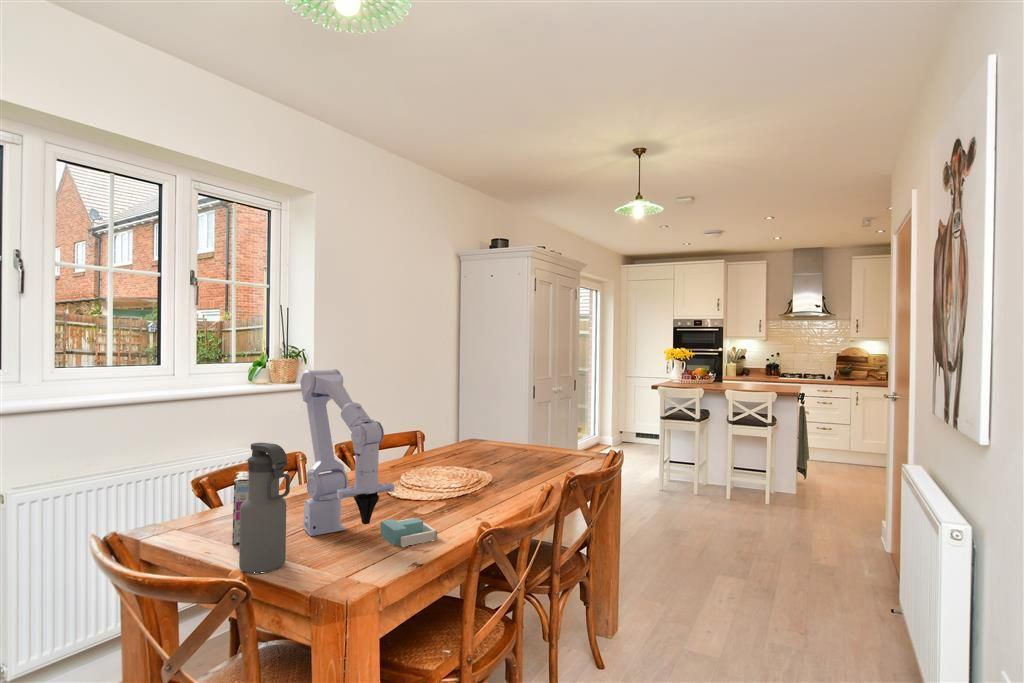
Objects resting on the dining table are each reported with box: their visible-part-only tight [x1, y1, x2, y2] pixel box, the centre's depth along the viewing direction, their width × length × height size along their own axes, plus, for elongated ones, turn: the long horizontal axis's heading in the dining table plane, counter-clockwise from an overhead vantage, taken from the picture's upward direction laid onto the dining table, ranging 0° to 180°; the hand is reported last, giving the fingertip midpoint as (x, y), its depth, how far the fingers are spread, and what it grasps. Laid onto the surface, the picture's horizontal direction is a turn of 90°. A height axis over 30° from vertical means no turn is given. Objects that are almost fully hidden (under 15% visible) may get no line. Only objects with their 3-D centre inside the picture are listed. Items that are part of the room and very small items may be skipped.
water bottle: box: [238, 442, 291, 574], centre depth 131 cm, size 10×10×28 cm
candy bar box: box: [231, 470, 249, 546], centre depth 149 cm, size 11×5×16 cm, turn 21°
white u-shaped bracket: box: [396, 517, 438, 548], centre depth 152 cm, size 10×13×2 cm
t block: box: [379, 517, 424, 547], centre depth 151 cm, size 10×9×4 cm
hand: (365, 523), depth 145 cm, fingers closed
